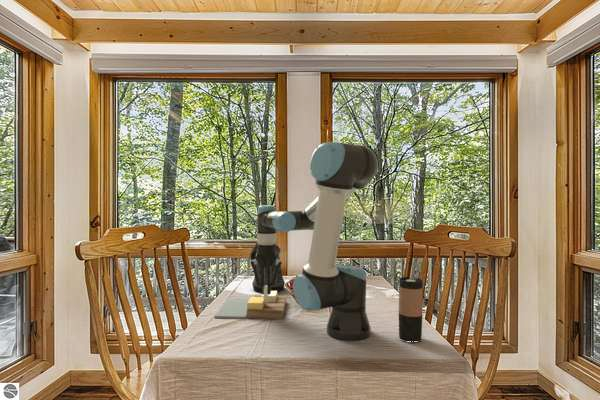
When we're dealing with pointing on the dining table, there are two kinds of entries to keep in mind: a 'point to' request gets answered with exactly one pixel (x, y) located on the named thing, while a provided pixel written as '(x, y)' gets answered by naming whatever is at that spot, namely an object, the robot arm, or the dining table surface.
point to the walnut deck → (269, 309)
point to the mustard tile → (256, 303)
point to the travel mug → (410, 308)
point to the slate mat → (233, 309)
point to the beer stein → (279, 281)
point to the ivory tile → (271, 296)
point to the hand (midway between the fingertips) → (265, 302)
